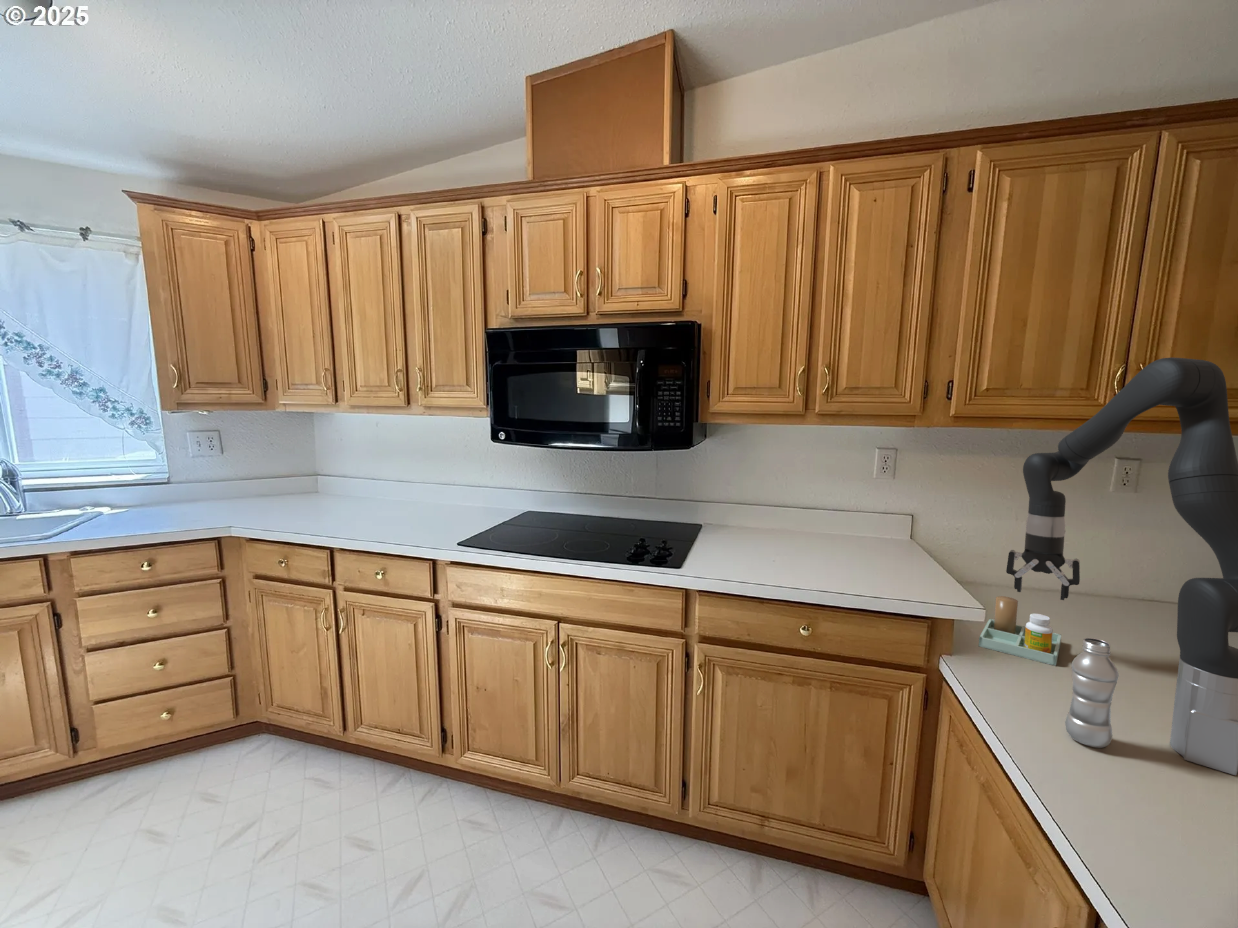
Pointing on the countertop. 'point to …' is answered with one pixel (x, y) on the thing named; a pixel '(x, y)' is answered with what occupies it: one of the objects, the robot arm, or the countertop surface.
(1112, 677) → the plastic bottle
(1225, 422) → the robot arm
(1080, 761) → the countertop surface
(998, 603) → the tan cylinder
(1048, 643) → the supplement bottle
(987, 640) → the tray
